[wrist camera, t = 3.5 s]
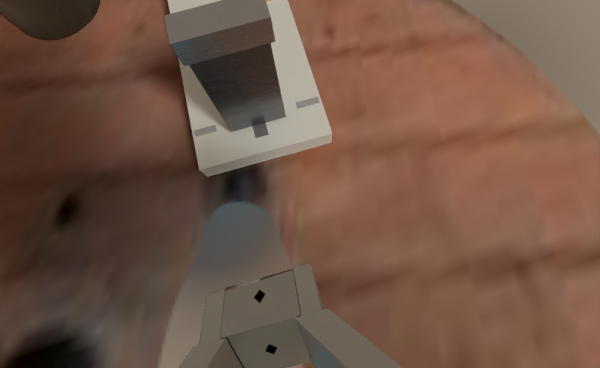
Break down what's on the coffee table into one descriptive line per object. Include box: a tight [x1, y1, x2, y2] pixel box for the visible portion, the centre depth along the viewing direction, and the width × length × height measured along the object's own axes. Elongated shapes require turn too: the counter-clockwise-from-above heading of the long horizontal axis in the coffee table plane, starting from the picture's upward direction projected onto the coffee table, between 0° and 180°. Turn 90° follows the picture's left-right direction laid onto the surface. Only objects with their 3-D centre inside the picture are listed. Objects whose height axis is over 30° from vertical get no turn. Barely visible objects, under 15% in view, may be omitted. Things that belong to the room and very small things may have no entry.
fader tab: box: [164, 0, 286, 132], centre depth 21 cm, size 6×2×11 cm, turn 105°
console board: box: [168, 0, 332, 177], centre depth 30 cm, size 12×21×2 cm, turn 15°
